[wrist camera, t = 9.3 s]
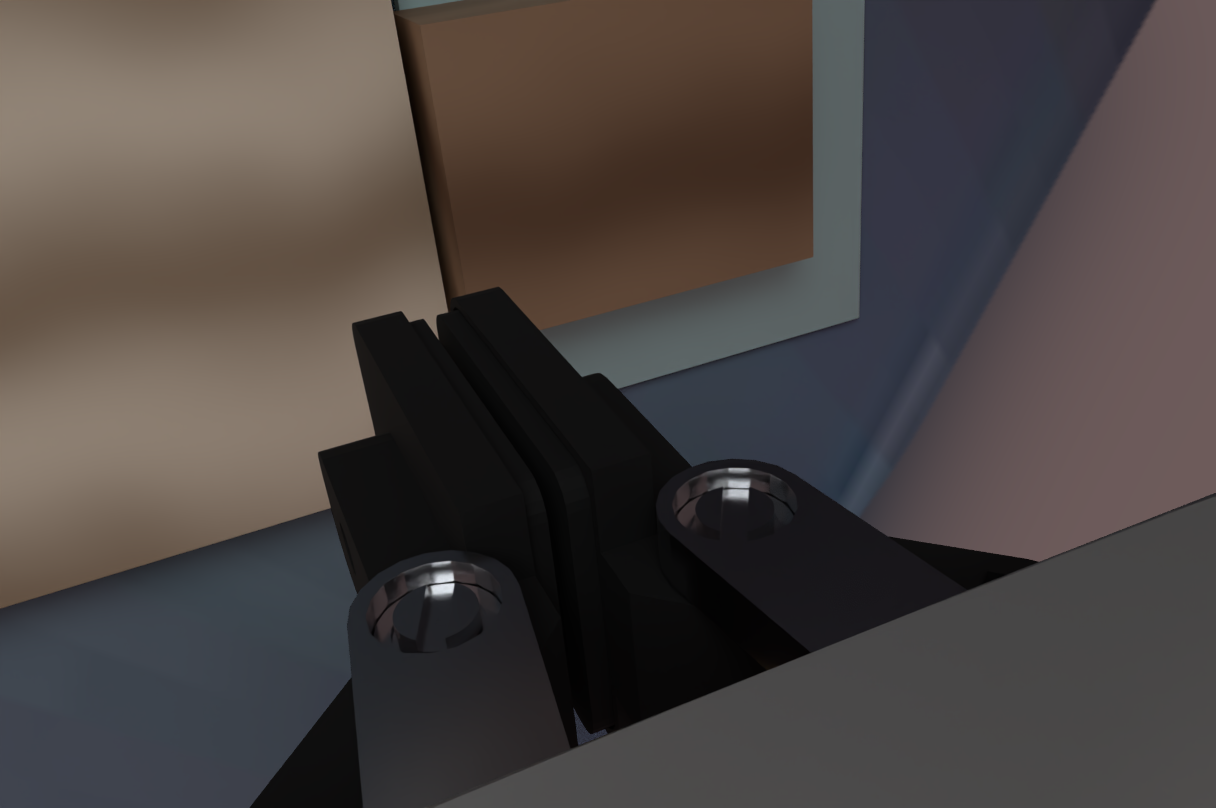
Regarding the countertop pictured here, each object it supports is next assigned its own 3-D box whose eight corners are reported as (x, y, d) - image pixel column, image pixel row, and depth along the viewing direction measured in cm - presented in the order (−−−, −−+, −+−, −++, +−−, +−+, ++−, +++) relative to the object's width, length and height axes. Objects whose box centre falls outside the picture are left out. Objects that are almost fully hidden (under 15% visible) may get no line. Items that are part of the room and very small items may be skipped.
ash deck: (-528, -81, 17) (-592, -76, 16) (337, -172, 22) (358, -175, 20) (-149, 605, 24) (-166, 659, 22) (452, 429, 28) (475, 463, 27)
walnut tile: (389, 12, 23) (420, 25, 21) (753, -47, 26) (812, -40, 24) (444, 310, 26) (475, 347, 24) (761, 230, 29) (813, 257, 27)
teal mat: (362, -174, 22) (366, -175, 21) (858, -226, 25) (868, -227, 25) (471, 424, 28) (475, 430, 28) (851, 313, 32) (859, 317, 32)
